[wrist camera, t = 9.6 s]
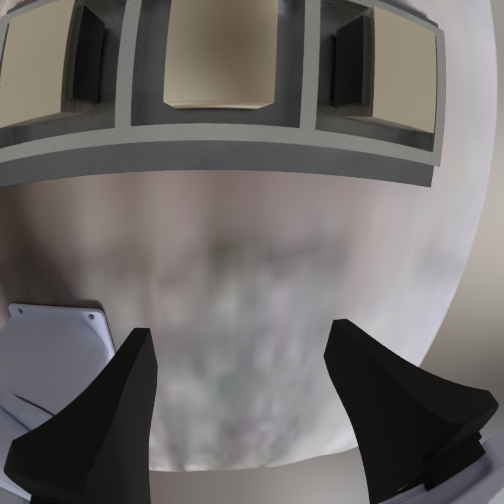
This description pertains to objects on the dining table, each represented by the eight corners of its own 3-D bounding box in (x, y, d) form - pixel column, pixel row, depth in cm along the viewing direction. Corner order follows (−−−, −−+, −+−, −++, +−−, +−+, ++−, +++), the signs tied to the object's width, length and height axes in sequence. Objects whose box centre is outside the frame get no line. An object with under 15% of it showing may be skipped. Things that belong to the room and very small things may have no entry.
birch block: (177, 109, 13) (163, 101, 9) (184, 11, 11) (176, -31, 7) (253, 110, 14) (273, 102, 10) (258, 13, 12) (279, -27, 7)
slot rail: (3, 184, 14) (-42, 205, 9) (14, 13, 8) (-24, -2, 4) (422, 184, 18) (469, 203, 14) (429, 26, 13) (474, 16, 9)
